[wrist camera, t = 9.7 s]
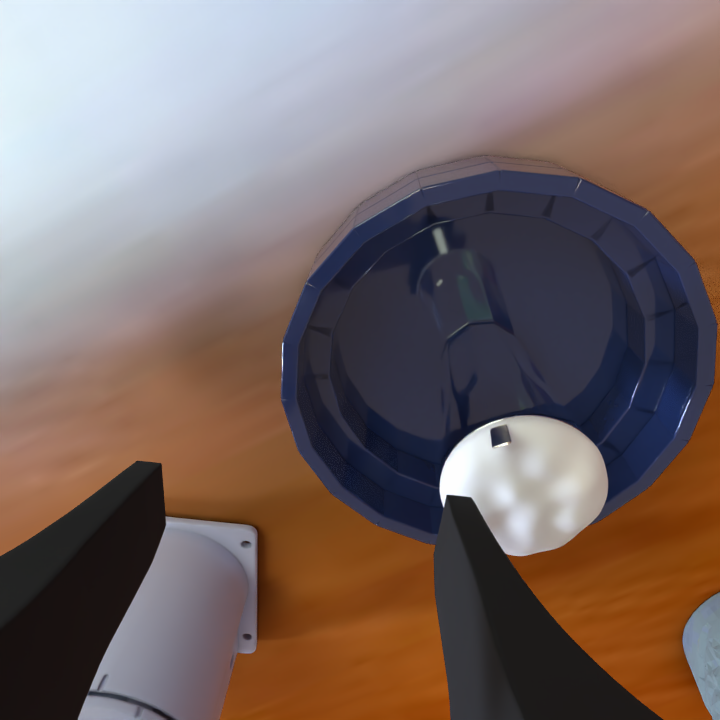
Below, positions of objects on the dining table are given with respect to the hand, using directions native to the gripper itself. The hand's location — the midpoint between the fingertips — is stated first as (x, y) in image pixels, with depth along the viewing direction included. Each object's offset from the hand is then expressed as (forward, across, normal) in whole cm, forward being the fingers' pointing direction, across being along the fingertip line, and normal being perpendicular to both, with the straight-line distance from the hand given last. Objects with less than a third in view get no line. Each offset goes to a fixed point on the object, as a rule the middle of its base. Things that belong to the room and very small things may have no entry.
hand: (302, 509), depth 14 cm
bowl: (+10, -6, 0) cm, 12 cm away
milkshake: (+10, -6, 0) cm, 11 cm away
